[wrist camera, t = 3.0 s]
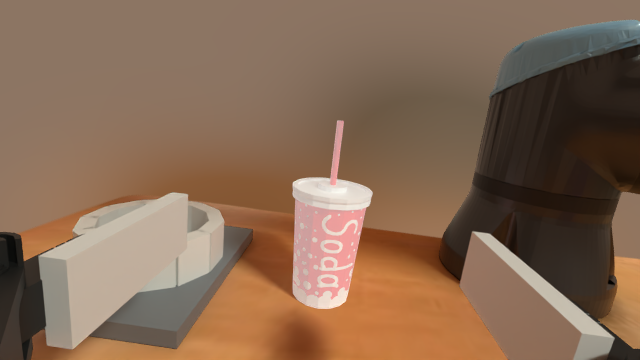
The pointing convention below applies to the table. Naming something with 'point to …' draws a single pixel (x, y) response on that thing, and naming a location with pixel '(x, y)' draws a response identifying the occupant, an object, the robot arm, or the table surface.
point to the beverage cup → (327, 234)
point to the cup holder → (173, 277)
